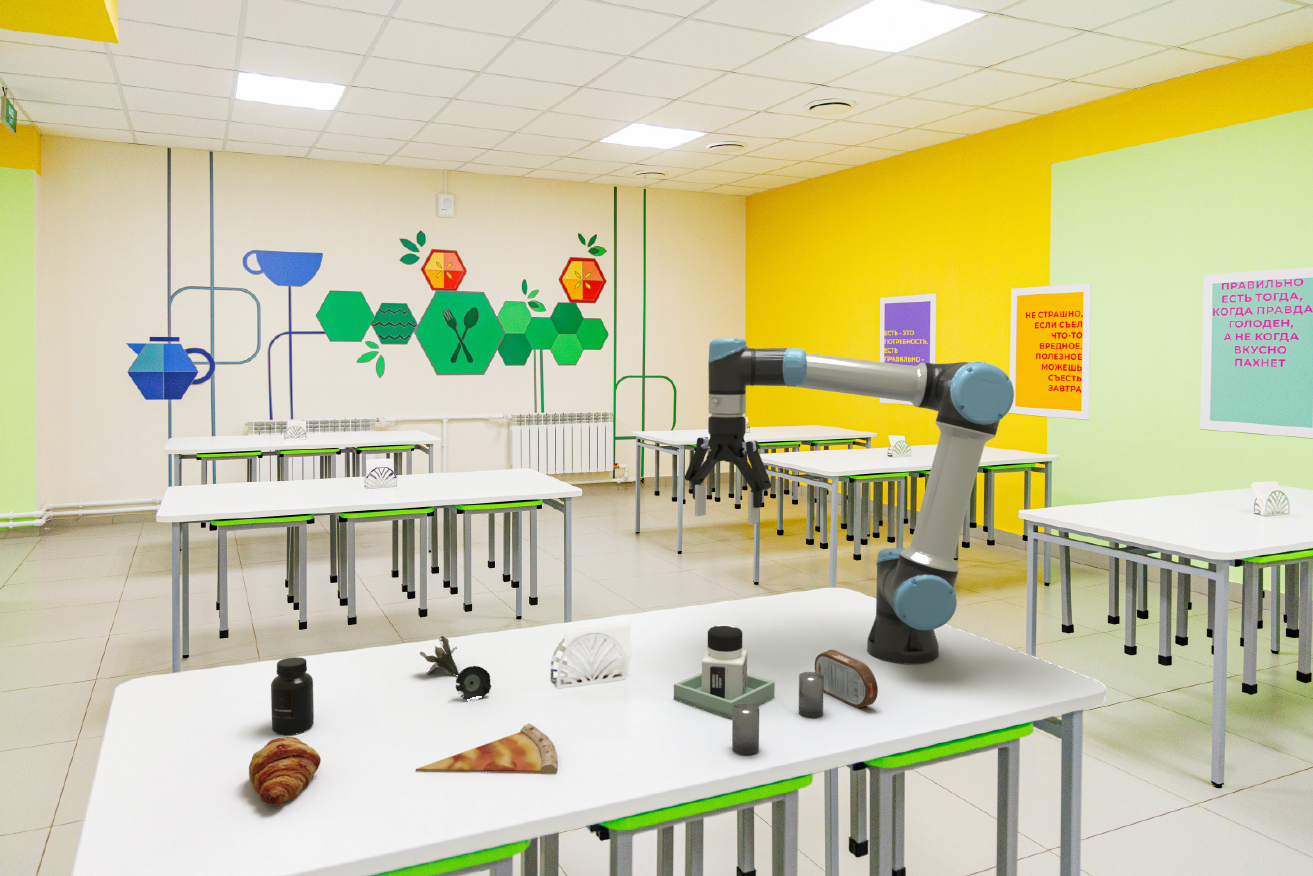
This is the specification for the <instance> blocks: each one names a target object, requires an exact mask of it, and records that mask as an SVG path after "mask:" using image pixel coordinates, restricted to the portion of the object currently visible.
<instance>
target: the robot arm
mask: <svg viewBox="0 0 1313 876" xmlns="http://www.w3.org/2000/svg"><path fill="white" fill-rule="evenodd" d="M707 363H708V369H707V371H708V372H707V373H708V414H711V416H709V417H708V421H707V423H708V425H707V426H708V427H707V428H708V432H707V433H708V434H709V437H708V436H701V437H698V438H697V439H696V447H695V450H694V453H693V455H692V457H691V460H690V462H689V465H688V468H687V470H686V472H685V475H684V480H685V481H688V482H689V483H691V484H692V499H693V500H694V517H701V516H702V517H703V516H706V515H707V484H706V483H705V480H706V478H707V477H708V476H709V474H710V473H711V471H712V470H713V469H714V467H715V466H716V465H717V463H718V462H726V463H732V464H733V465H734V466H736V467H737V469H738V470H739V473H741V475H742V477H743V478H744V481H746V483H747V484H748V487H749V488H750V490H749V491H748V492H747V494H748V495H747V496H748V497H747V525H751V526H753V525H755V524H759V523H760V508H762V506H763V491H766V490H767V489H771V488H772V483H771V480H770V478H769V476H768V475H769V474H768V472H767V470H766V466H765V465H764V461H763V460H762V457H761V454H760V452H759V442H758V440H750V441H749V440H748V441H745V434H746V431H747V430H746V429H747V428H746V426H747V425H746V422H747V421H746V420H747V418H745V416H743V415H744V414H746V413H747V405H746V404H747V386H751V387H755V386H757V387H758V386H760V387H761V386H763V387H789V388H790V387H794V388H799V389H801V388H803V389H809V390H816V391H826V392H832V393H841V394H847V395H856V396H863V397H869V398H871V397H872V398H879V399H880V398H881V399H887V400H894V401H895V400H896V401H901V402H902V401H904V402H909V403H911V404H912V405H913V407H914V408H921V409H927V410H931V411H935V412H937V414H936V420H935V424H936V426H937V428H938V429H939V430H940V431H939V432H940V435H939V438H938V442H937V447H936V448H935V454H934V456H933V461H932V463H931V468H930V472H929V476H928V479H927V483H926V486H925V490H924V493H923V497H922V501H921V506H920V509H919V513H918V517H917V520H916V524H915V527H914V531H913V534H912V539H911V541H910V546H909V547H907V548H903V547H902V548H900V547H899V548H897V547H896V548H893V547H891V548H883V549H881V550H879V551H878V553H877V559H876V562H875V563H876V593H875V594H876V596H875V597H876V600H875V601H876V602H875V603H876V604H875V608H876V609H875V618H874V620H873V623H872V625H871V626H872V627H871V629H870V632H869V634H868V637H867V641H866V642H867V643H866V650H867V653H869V654H870V655H871V656H872V657H875V658H876V659H879V660H882V661H887V662H891V663H898V664H908V665H909V664H913V665H917V664H925V663H930V662H933V661H936V660H937V659H938V658H939V653H940V652H939V648H940V647H939V642H938V639H937V636H936V632H935V630H936V629H938V628H941V627H943V626H944V625H946V624H947V623H948V622H949V621H951V619H952V618H953V616H954V615H955V612H956V609H957V601H958V600H957V594H956V591H955V588H954V587H955V584H956V580H957V577H958V573H959V569H960V568H959V566H958V564H957V563H956V561H955V560H954V559H955V555H956V549H957V546H958V543H959V539H960V537H961V532H962V528H963V525H964V520H965V517H966V515H967V514H966V513H967V510H968V506H969V502H970V499H971V496H972V491H973V489H974V485H975V482H976V477H977V475H978V470H979V467H980V463H981V459H982V455H983V452H984V449H985V445H986V443H988V442H989V441H990V440H992V439H994V438H996V435H997V432H998V428H999V424H1000V421H1001V420H1002V419H1003V418H1004V417H1005V416H1006V415H1007V414H1008V413H1009V412H1010V410H1011V408H1012V406H1013V402H1014V400H1015V399H1014V398H1015V390H1014V386H1013V382H1012V381H1011V379H1010V377H1009V376H1008V375H1007V373H1006V372H1005V371H1003V369H1001V368H1000V367H998V366H996V365H994V364H990V363H987V362H982V361H972V362H967V361H966V362H965V361H964V362H960V361H959V362H949V363H933V362H932V363H930V362H920V363H919V364H917V365H910V364H909V365H908V364H907V365H906V364H901V363H900V364H898V363H891V362H885V361H884V362H882V361H873V360H867V359H857V358H850V357H842V356H834V355H833V356H832V355H826V354H825V355H824V354H816V353H809V352H806V350H805V349H804V348H793V347H783V348H782V347H781V348H780V347H778V348H776V347H775V348H768V347H767V348H751V347H748V345H747V341H746V339H745V338H729V337H728V338H714V339H712V340H711V341H710V342H709V345H708V362H707ZM709 448H710V449H709ZM708 449H709V450H710V451H709V453H708ZM707 453H708V454H707ZM745 453H746V454H745ZM706 455H707V456H706ZM746 455H747V456H746ZM705 457H706V459H705Z"/></svg>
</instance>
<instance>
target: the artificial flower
mask: <svg viewBox="0 0 1313 876" xmlns="http://www.w3.org/2000/svg"><path fill="white" fill-rule="evenodd" d="M438 639H439V641H438V642H439V643H440V645H441V647H439V646H438V647H437V646H436V645H435V646H434V648H435V649H434V653H435V655H427V654H426V653H425V652H424V651H420V652H419V655H420V656H421V657H423V658H424V660H426V661H427V662H428V663H433V664H432V665H431V666H432V667H431V666H430V667H431V668H430V670H429V671H428V672H427V674H428V673H429V674H430V673H431V672H433V670H435V668H437V667H440V668H442V669H443V670H445V671H447V673H449V674H451V675H453V674H455V675H458V677H457V676H456V679H455V683H456V684H455V689H456V691H457V693H458V695H459V694H460V693H459V692H462V693H463V694H462V695H460V698H462V700H467V699H470V698H472V697H476V696H482V698H484V697H486V695H487V694H490V691H491V688H492V684H491V675H490V673H489V672H488V671H487V670H486V669H485V668H484V667H481V666H478V665H472V666H467V667H465V668H464V669H462V670H461V671H460V672H459V670H458V667H457V665H456V662H455V661H454V658H453V653H454V652H455V651H456V650H457V649H458V648H457V646H455V647H453V648H452V649H451V646H450V644H449V641H450V640H449V638H446V637H445V636H444V635H442V636H439V638H438ZM455 675H454V676H455Z"/></svg>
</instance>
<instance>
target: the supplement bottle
mask: <svg viewBox="0 0 1313 876" xmlns="http://www.w3.org/2000/svg"><path fill="white" fill-rule="evenodd" d="M307 665H308V664H307V659H306V658H303V657H295V656H294V657H287V658H284V659H281V660H278V661H277V663H276V675H277V676H275V677H274V678H273V679H272V681H271V684H270V700H271V701H270V702H271V706H270V707H271V729H272V731H273V732H274V733H275V734H277V735H280V736H293V734H294V735H297V734H296V733H299V734H301V733H300V732H302V733H305V732H307V731H309V730H310V729H311V728H312V727H313V725H314V720H315V719H314V717H315V715H314V706H315V705H314V679H313V676H312V675H311V674H309V673H308V667H307ZM308 729H309V730H308ZM306 730H307V731H306ZM304 731H305V732H304Z"/></svg>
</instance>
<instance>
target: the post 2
mask: <svg viewBox="0 0 1313 876" xmlns="http://www.w3.org/2000/svg"><path fill="white" fill-rule="evenodd" d="M824 693H825V691H824V676H823V675H821V674H819V673H815V671H807V672H805V671H804V672H801V673H800V674H798V715H799V716H800V717H803V718H806V719H813V720H814V719H820V718H822V717H824Z"/></svg>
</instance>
